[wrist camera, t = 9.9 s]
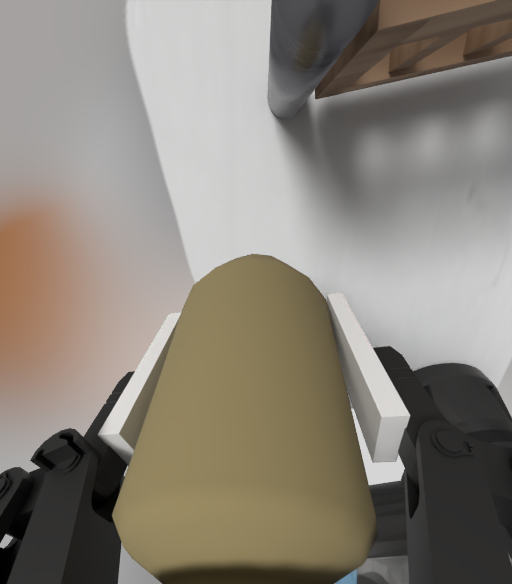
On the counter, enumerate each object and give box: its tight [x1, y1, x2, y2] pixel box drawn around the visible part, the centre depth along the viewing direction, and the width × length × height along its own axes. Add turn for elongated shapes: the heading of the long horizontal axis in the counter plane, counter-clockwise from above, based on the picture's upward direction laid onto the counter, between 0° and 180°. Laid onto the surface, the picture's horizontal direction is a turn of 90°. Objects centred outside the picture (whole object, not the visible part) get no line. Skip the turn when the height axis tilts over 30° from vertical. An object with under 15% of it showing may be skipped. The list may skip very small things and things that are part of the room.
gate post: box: [268, 0, 378, 119], centre depth 12 cm, size 3×3×15 cm
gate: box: [315, 0, 512, 99], centre depth 11 cm, size 2×15×11 cm, turn 100°
